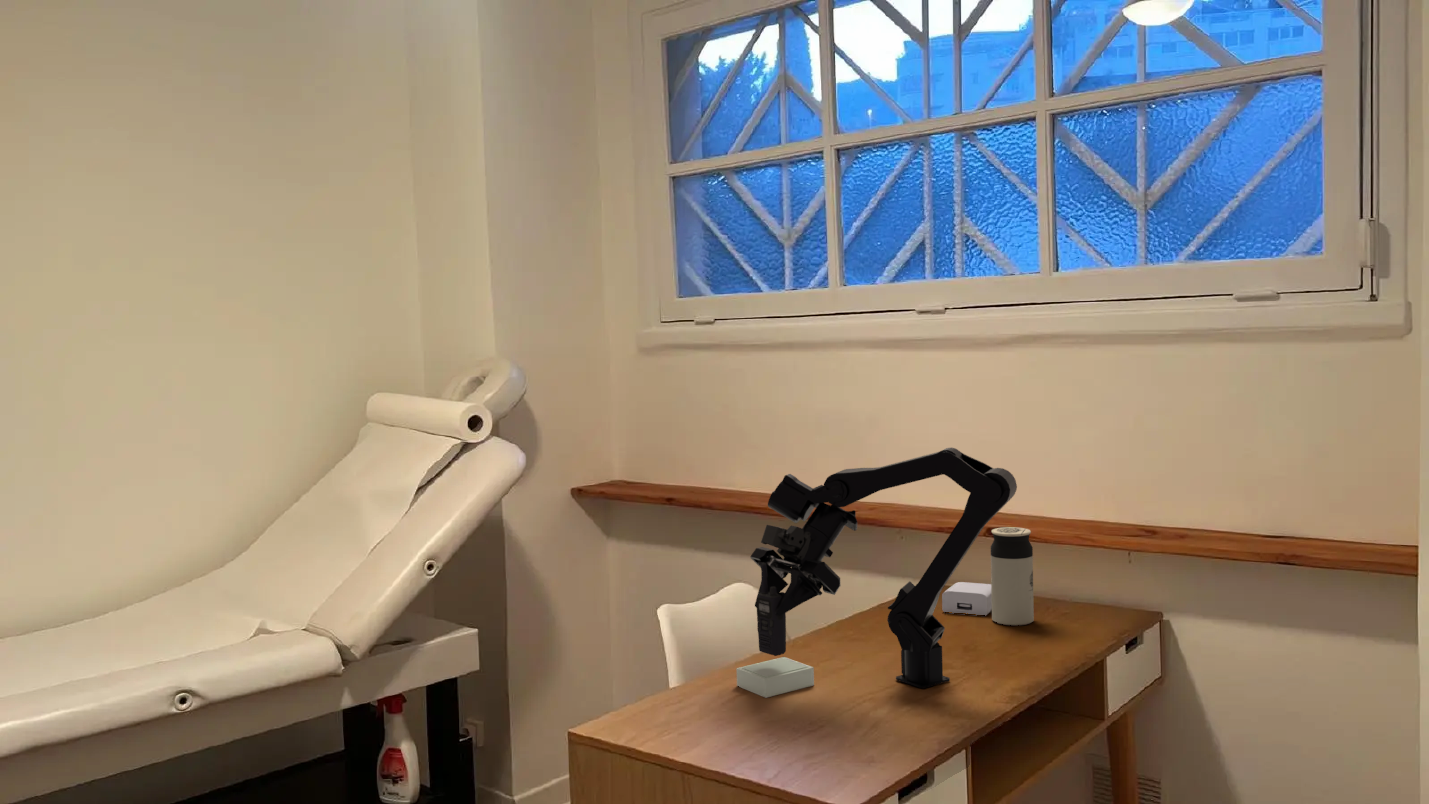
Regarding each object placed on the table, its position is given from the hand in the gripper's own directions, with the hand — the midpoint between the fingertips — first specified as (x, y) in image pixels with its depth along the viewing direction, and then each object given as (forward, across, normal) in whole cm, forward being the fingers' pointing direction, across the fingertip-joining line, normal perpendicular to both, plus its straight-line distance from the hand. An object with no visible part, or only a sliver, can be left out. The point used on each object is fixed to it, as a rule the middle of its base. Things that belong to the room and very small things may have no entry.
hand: (766, 611), depth 191 cm
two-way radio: (+4, 0, +6) cm, 7 cm away
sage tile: (+8, 0, +10) cm, 13 cm away
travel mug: (-34, -4, +53) cm, 63 cm away
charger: (-36, -18, +55) cm, 68 cm away
